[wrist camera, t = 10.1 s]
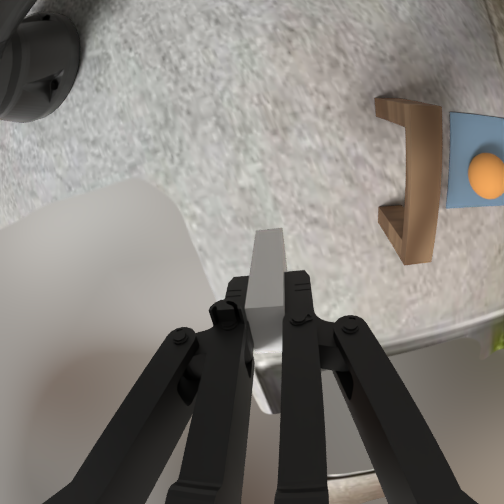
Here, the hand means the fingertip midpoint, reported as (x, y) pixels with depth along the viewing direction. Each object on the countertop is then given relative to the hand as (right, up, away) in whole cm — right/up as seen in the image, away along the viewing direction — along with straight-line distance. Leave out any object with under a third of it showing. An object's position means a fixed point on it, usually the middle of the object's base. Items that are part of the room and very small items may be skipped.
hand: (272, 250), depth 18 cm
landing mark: (+28, +11, +10) cm, 32 cm away
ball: (+26, +9, +8) cm, 29 cm away
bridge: (+14, +10, +12) cm, 21 cm away
